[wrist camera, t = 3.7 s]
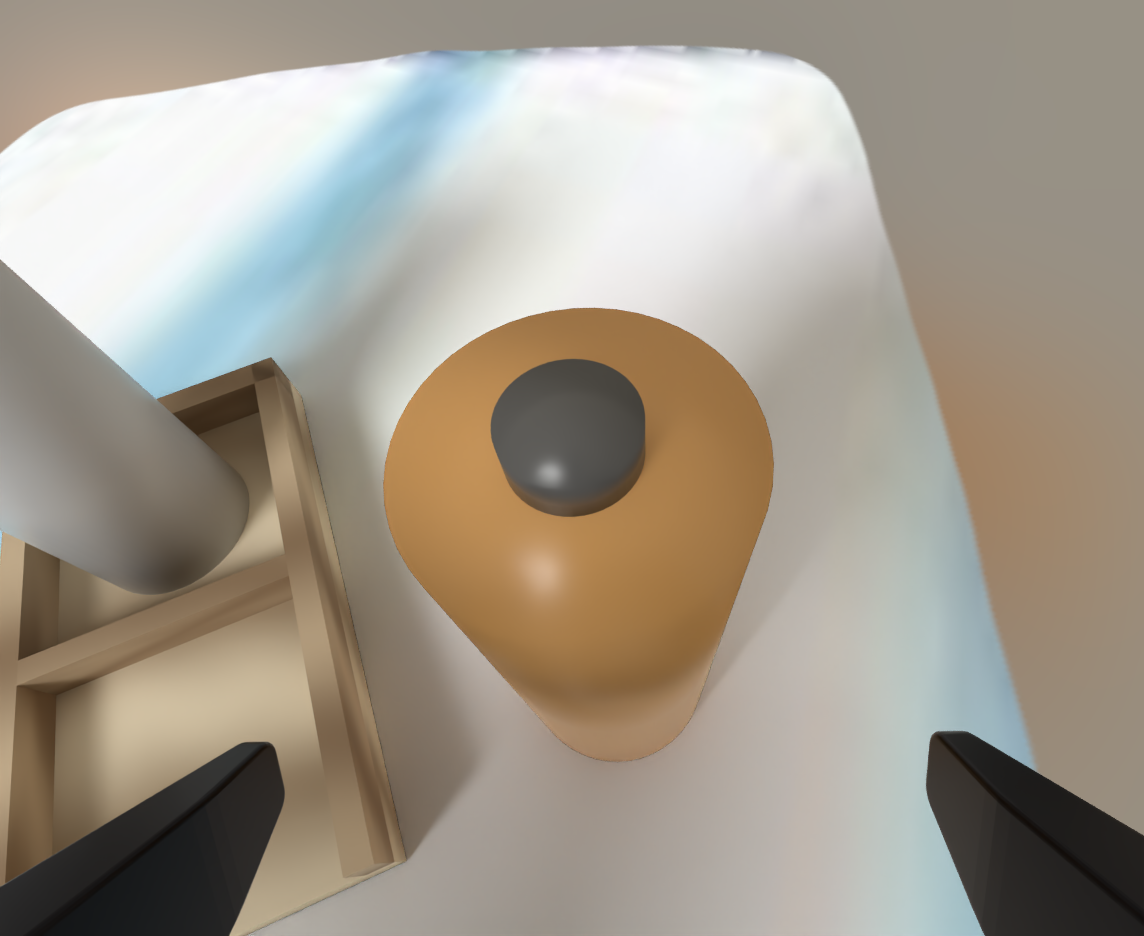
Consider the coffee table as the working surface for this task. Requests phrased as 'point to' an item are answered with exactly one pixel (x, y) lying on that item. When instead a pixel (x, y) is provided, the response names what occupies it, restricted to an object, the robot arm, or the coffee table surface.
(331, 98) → the coffee table surface
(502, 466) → the orange bottle
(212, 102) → the coffee table surface
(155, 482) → the grey bottle
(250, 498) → the slot rack
